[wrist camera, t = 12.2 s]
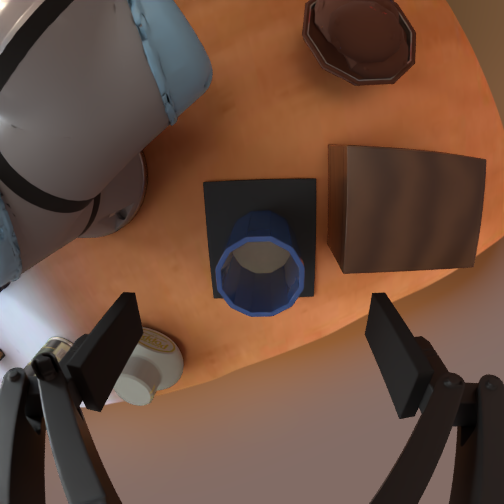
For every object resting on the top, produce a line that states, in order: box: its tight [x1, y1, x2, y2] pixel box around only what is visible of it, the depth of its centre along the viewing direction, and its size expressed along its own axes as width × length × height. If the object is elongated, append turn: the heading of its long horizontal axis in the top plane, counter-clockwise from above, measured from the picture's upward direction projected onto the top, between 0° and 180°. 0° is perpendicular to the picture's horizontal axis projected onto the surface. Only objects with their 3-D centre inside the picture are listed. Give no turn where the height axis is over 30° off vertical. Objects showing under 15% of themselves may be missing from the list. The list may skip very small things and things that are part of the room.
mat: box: [203, 179, 316, 298], centre depth 38 cm, size 13×15×1 cm
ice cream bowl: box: [302, 0, 416, 86], centre depth 23 cm, size 11×11×15 cm
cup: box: [215, 211, 305, 317], centre depth 33 cm, size 8×8×10 cm
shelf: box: [327, 145, 486, 274], centre depth 31 cm, size 16×12×9 cm
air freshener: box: [113, 327, 184, 406], centre depth 40 cm, size 11×8×10 cm
